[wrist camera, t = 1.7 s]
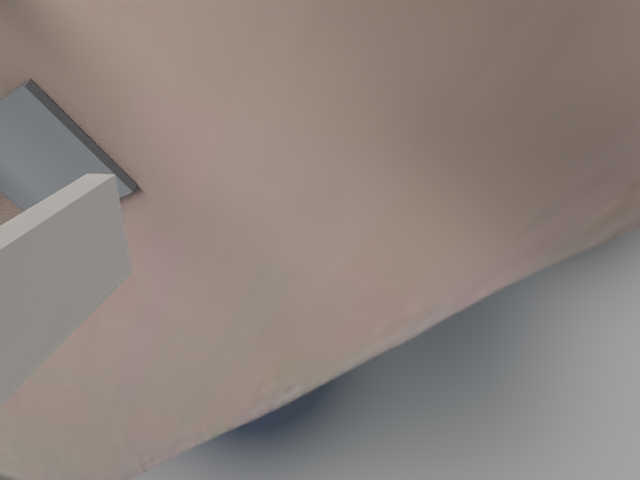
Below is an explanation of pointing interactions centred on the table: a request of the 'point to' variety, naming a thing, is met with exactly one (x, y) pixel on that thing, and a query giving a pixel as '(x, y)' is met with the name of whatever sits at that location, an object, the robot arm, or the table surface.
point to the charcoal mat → (46, 149)
